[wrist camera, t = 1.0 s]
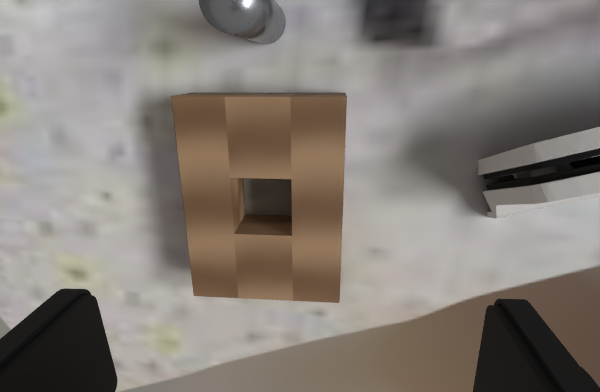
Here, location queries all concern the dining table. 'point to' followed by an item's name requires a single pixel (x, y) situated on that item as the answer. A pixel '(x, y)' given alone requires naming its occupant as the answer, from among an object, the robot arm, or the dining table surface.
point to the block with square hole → (265, 165)
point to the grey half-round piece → (542, 174)
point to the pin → (246, 18)
